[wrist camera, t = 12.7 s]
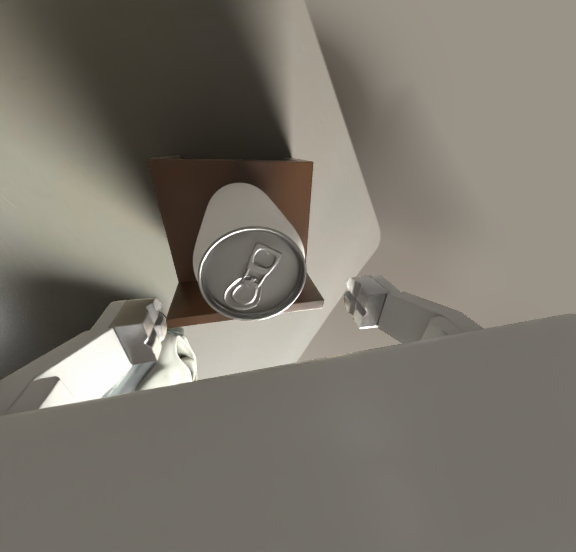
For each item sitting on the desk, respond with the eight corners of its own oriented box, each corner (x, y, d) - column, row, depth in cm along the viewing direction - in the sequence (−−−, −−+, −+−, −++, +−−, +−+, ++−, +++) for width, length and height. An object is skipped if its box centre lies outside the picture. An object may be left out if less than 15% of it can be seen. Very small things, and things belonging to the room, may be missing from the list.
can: (195, 231, 21) (168, 308, 11) (223, 166, 19) (220, 190, 9) (256, 257, 24) (277, 337, 14) (286, 203, 22) (337, 251, 12)
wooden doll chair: (292, 157, 27) (341, 166, 16) (289, 251, 34) (323, 307, 22) (168, 155, 24) (114, 163, 13) (190, 258, 31) (168, 328, 19)
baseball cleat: (52, 492, 33) (165, 481, 39) (52, 359, 22) (211, 373, 28) (88, 421, 42) (177, 421, 48) (101, 299, 30) (215, 319, 36)
